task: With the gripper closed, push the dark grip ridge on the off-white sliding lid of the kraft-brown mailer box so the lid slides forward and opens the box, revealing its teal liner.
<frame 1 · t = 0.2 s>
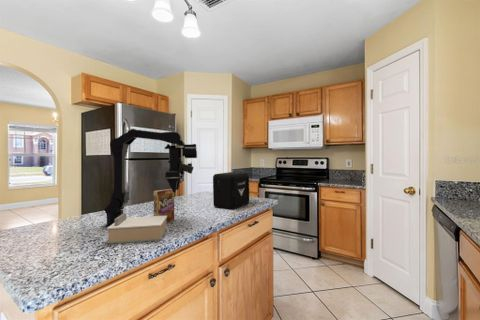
hand: (175, 191, 111), 14 cm above the worktop, fingers open, 9 cm apart
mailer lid: (139, 218, 91), point 7 cm above the worktop, slide at 0.0 cm
candy box: (164, 222, 111), on the worktop
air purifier: (232, 205, 144), on the worktop
mailer box: (140, 235, 91), on the worktop
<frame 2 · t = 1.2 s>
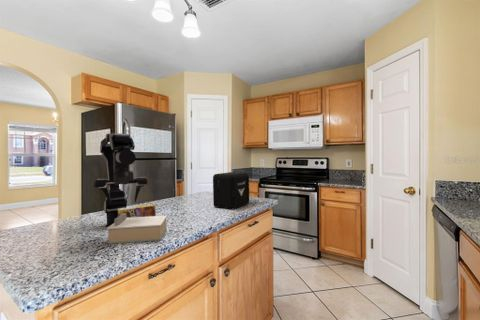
hand: (122, 203, 94), 13 cm above the worktop, fingers open, 9 cm apart
candy box: (155, 213, 108), point 4 cm above the worktop
everything else where it was.
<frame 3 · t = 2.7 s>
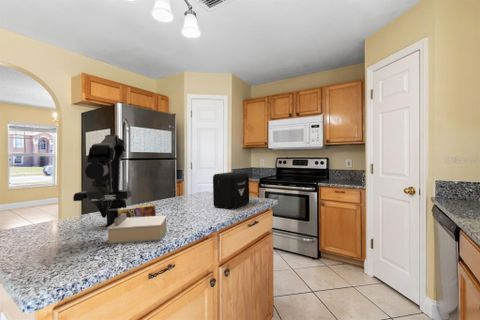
hand: (104, 217, 90), 8 cm above the worktop, fingers closed
nothing on the worktop moved.
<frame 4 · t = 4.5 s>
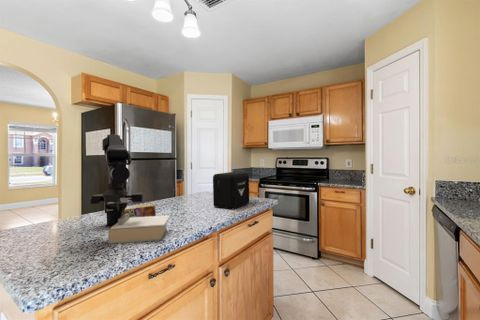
hand: (119, 220, 90), 7 cm above the worktop, fingers closed
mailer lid: (143, 218, 91), point 7 cm above the worktop, slide at 1.3 cm, touching gripper
everything else where it was.
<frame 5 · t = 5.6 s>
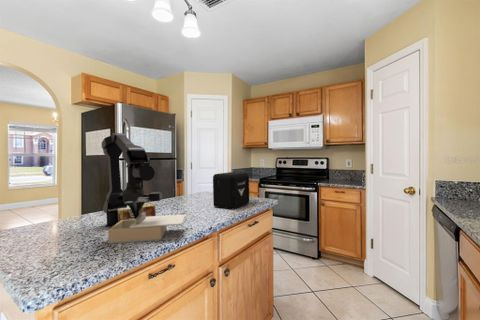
hand: (136, 219, 91), 7 cm above the worktop, fingers closed
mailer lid: (159, 217, 92), point 7 cm above the worktop, slide at 7.6 cm, touching gripper
everything else where it was.
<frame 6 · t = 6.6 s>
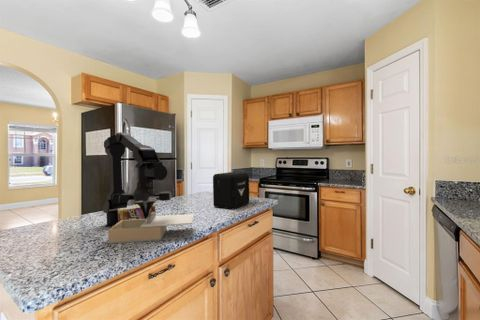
hand: (146, 218, 92), 7 cm above the worktop, fingers closed
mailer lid: (169, 217, 93), point 7 cm above the worktop, slide at 11.4 cm, touching gripper
everything else where it was.
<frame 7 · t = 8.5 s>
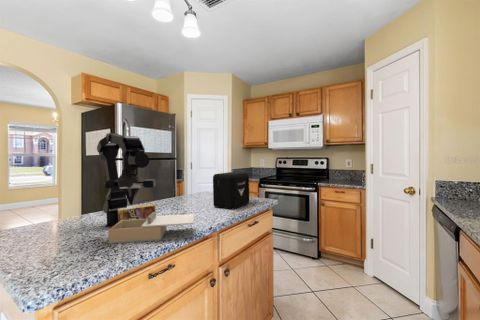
hand: (131, 204, 96), 12 cm above the worktop, fingers closed
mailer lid: (170, 217, 93), point 7 cm above the worktop, slide at 11.7 cm
everything else where it was.
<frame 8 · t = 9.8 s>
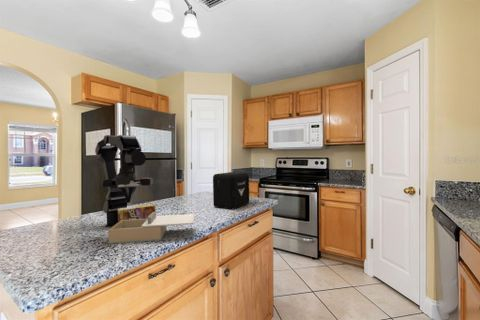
hand: (129, 202, 97), 12 cm above the worktop, fingers closed
nothing on the worktop moved.
at the end: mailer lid slide at 11.7 cm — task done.
